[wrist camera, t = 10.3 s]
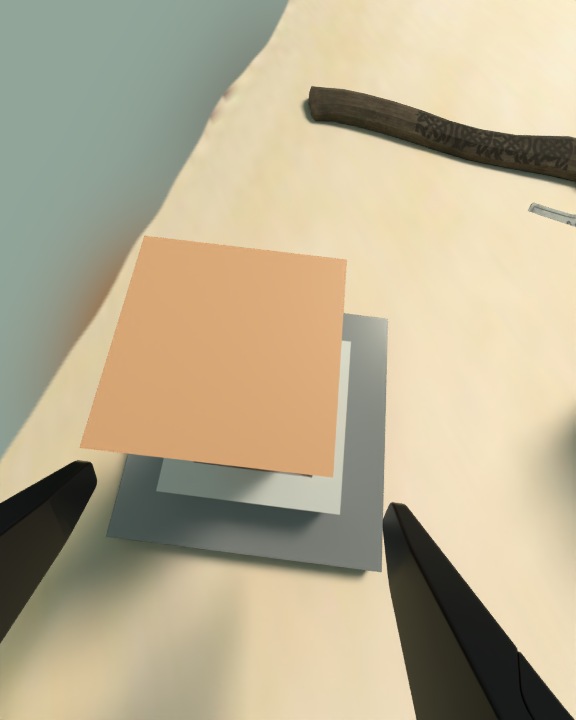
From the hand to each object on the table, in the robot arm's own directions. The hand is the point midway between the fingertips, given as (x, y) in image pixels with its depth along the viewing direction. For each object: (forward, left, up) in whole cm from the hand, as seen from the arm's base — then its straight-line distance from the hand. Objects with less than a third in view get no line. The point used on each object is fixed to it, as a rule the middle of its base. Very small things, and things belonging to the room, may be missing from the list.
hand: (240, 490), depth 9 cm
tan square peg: (+2, +2, -8) cm, 9 cm away
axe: (+31, +5, -10) cm, 33 cm away
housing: (+2, +2, -10) cm, 10 cm away
